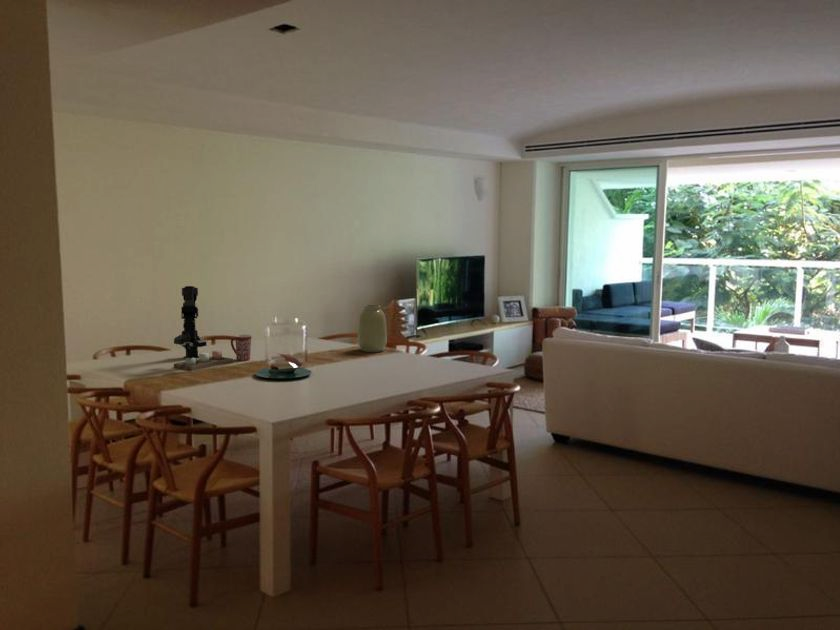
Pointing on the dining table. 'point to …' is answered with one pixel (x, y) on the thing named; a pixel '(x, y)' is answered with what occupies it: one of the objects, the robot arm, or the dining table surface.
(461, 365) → the dining table surface
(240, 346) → the mug
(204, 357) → the button cream
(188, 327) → the robot arm
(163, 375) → the dining table surface
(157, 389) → the dining table surface
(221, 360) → the button board
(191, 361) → the button sage
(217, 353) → the button terracotta
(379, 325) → the vase
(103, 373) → the dining table surface
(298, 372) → the dark teal dish
